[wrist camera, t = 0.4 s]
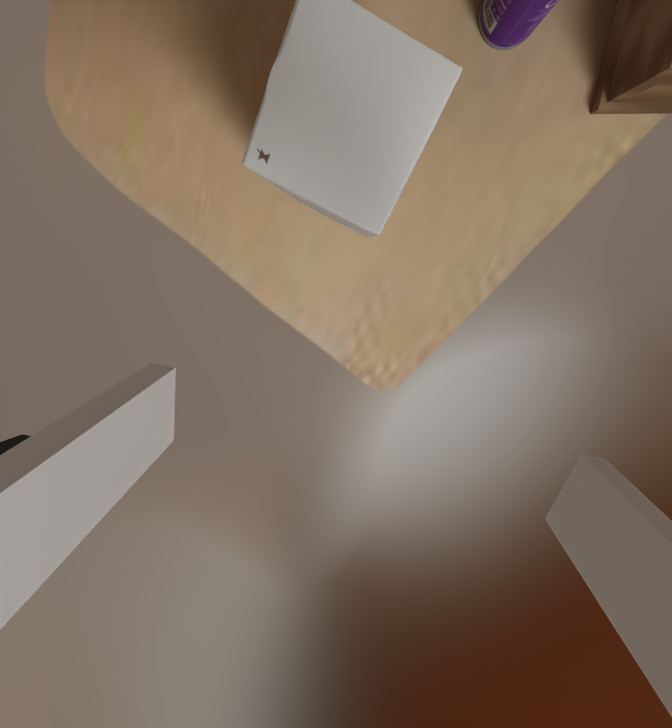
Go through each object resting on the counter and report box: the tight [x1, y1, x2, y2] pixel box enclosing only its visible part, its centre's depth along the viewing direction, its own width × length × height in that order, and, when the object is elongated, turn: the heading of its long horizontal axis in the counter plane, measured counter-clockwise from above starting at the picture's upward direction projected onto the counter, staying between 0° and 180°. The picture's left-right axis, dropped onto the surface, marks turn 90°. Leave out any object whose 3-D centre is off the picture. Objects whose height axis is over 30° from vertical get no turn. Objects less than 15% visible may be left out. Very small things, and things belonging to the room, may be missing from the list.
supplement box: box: [242, 0, 462, 237], centre depth 25 cm, size 9×9×15 cm
